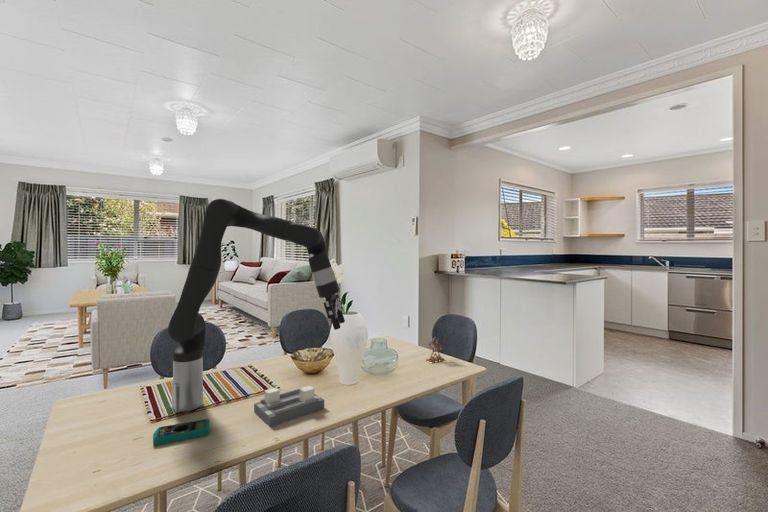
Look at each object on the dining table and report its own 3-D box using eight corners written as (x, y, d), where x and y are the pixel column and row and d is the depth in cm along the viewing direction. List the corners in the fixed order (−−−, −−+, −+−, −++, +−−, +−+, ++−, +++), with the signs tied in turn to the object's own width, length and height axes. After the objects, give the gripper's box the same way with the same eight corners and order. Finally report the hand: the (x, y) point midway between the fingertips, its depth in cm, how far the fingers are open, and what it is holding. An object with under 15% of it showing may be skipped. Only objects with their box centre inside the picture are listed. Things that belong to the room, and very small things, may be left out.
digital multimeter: (155, 435, 108) (155, 426, 108) (210, 425, 114) (210, 416, 114) (151, 448, 102) (151, 438, 102) (209, 437, 108) (209, 427, 108)
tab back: (268, 405, 121) (268, 393, 121) (264, 401, 124) (264, 390, 123) (279, 401, 124) (279, 390, 124) (275, 398, 126) (275, 387, 126)
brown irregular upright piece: (439, 358, 183) (440, 335, 183) (444, 360, 180) (445, 336, 179) (425, 361, 178) (426, 337, 178) (430, 363, 175) (431, 339, 175)
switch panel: (270, 426, 113) (270, 414, 113) (254, 412, 123) (254, 400, 123) (324, 408, 126) (324, 397, 126) (306, 396, 136) (306, 385, 136)
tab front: (304, 403, 123) (304, 391, 123) (299, 399, 125) (299, 388, 125) (314, 399, 126) (314, 388, 125) (309, 396, 128) (309, 385, 128)
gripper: (320, 282, 133) (334, 324, 133) (310, 288, 118) (325, 334, 119) (339, 276, 132) (353, 318, 132) (331, 281, 118) (346, 327, 118)
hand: (340, 325), depth 126 cm, fingers open, 8 cm apart
